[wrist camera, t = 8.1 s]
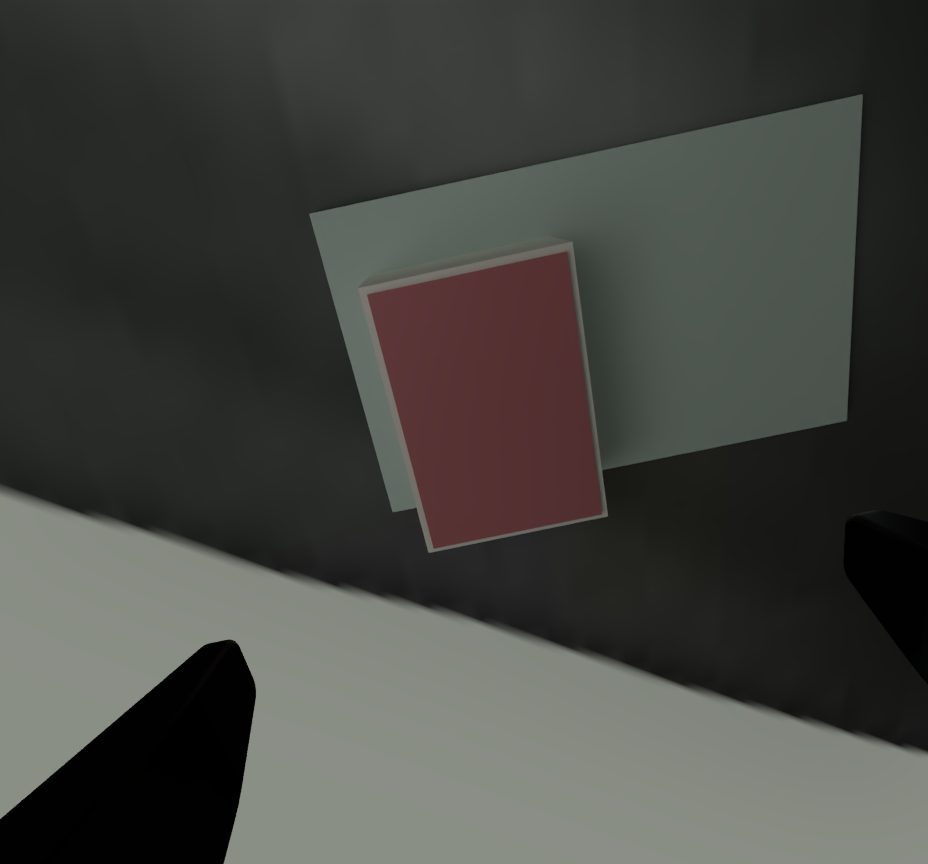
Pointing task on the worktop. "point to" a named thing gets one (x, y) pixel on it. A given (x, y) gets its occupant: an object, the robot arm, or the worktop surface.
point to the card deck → (490, 390)
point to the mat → (654, 277)
